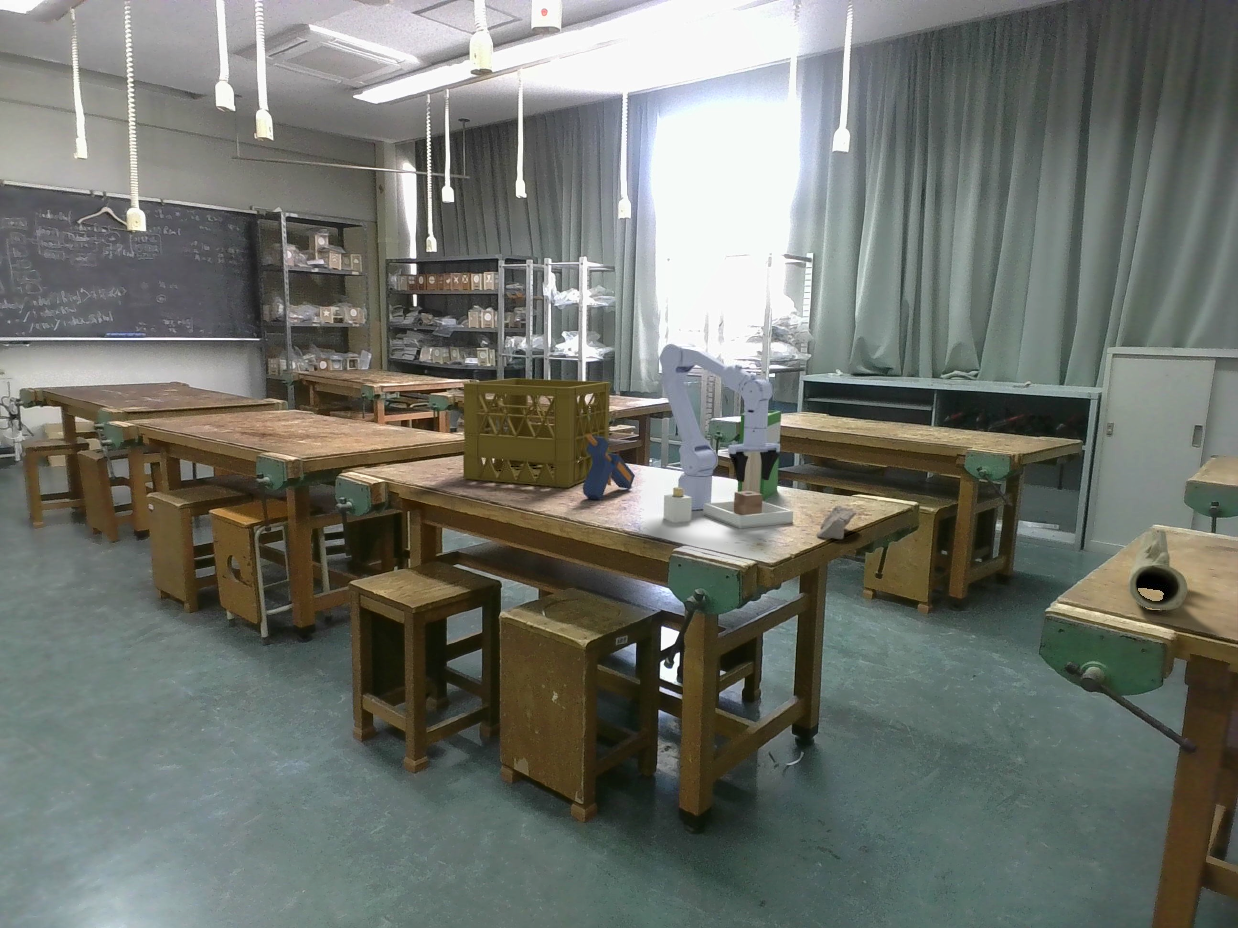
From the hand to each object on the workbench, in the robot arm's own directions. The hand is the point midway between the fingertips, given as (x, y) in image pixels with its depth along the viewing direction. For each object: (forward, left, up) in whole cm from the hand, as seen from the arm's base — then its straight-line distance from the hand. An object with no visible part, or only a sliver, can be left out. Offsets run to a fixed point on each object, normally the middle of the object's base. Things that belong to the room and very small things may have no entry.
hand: (752, 480), depth 201 cm
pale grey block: (-4, -19, -10) cm, 22 cm away
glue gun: (-39, -21, -10) cm, 46 cm away
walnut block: (+2, -3, -9) cm, 9 cm away
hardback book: (-23, +20, -10) cm, 32 cm away
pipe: (+80, +30, -10) cm, 86 cm away
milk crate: (-76, -28, -10) cm, 81 cm away
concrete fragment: (+22, +8, -10) cm, 26 cm away
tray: (+2, -2, -9) cm, 10 cm away
